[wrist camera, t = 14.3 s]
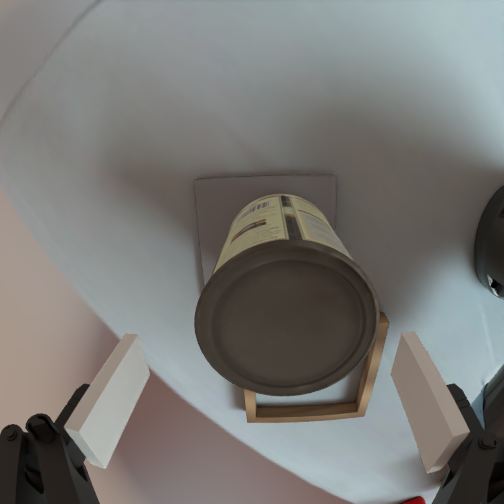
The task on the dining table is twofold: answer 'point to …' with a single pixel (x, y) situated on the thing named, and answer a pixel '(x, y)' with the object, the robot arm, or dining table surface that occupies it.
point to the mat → (244, 192)
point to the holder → (330, 410)
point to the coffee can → (285, 302)
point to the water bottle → (415, 501)
